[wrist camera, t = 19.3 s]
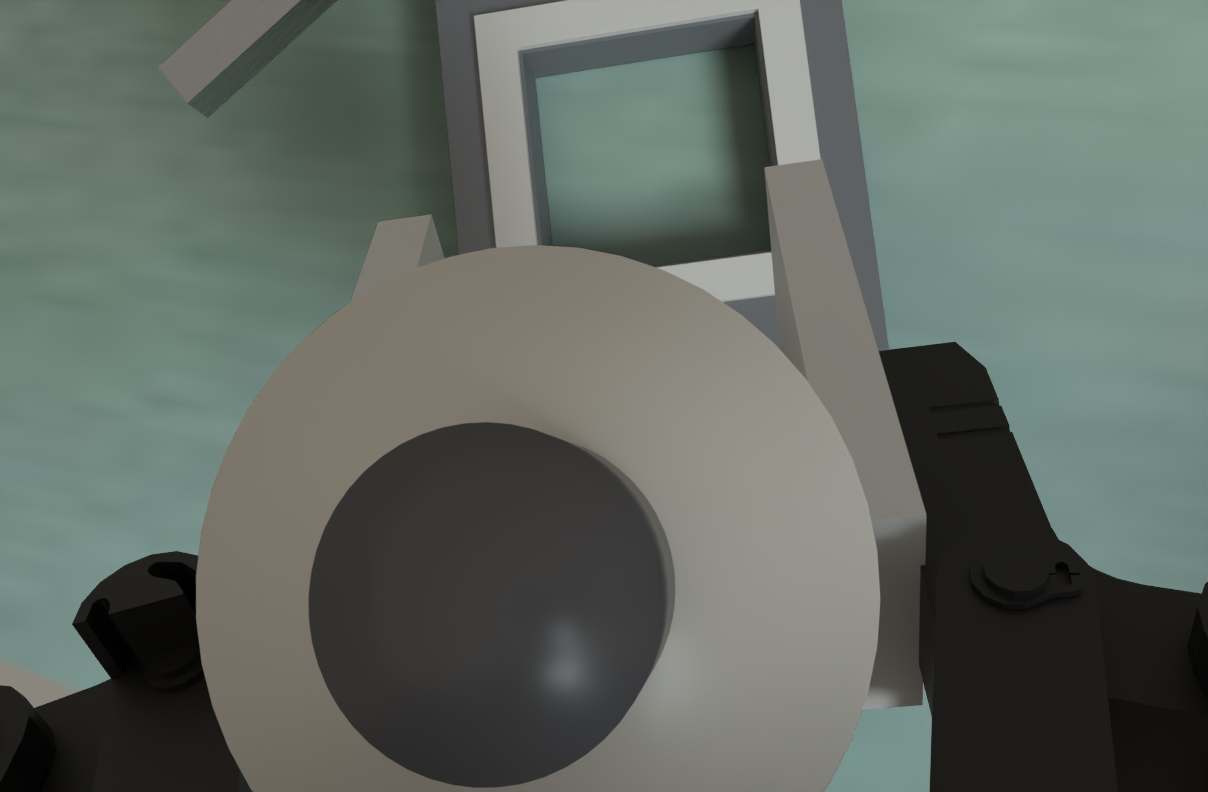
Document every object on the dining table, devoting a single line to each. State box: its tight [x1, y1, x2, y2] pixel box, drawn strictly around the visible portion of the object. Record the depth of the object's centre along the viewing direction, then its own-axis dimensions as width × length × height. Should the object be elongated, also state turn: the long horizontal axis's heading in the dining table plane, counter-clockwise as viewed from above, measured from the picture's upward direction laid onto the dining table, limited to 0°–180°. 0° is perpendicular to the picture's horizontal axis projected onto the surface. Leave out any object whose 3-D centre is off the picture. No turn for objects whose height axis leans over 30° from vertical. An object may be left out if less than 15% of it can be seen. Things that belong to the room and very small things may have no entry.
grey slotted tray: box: [435, 0, 889, 351], centre depth 27 cm, size 10×26×3 cm, turn 6°
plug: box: [196, 245, 880, 792], centre depth 13 cm, size 7×7×13 cm
